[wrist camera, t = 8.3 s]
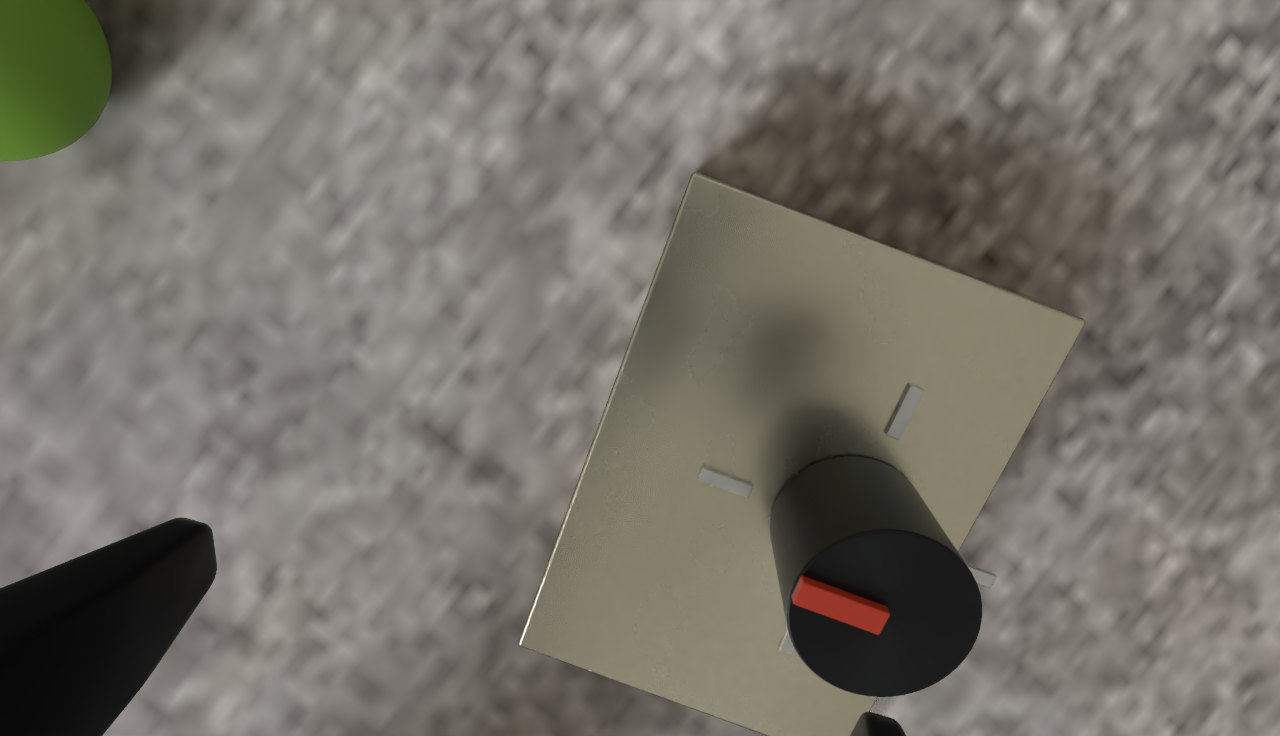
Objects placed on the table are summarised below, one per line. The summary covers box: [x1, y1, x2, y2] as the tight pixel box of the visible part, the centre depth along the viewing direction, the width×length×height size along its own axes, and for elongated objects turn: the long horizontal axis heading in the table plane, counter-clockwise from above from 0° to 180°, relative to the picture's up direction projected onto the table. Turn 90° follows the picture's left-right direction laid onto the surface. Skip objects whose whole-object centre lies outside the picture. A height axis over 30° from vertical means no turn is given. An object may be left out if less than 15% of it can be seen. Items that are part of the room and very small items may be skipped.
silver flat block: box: [519, 172, 1085, 736], centre depth 20 cm, size 14×11×3 cm
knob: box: [770, 456, 982, 697], centre depth 17 cm, size 4×4×4 cm
